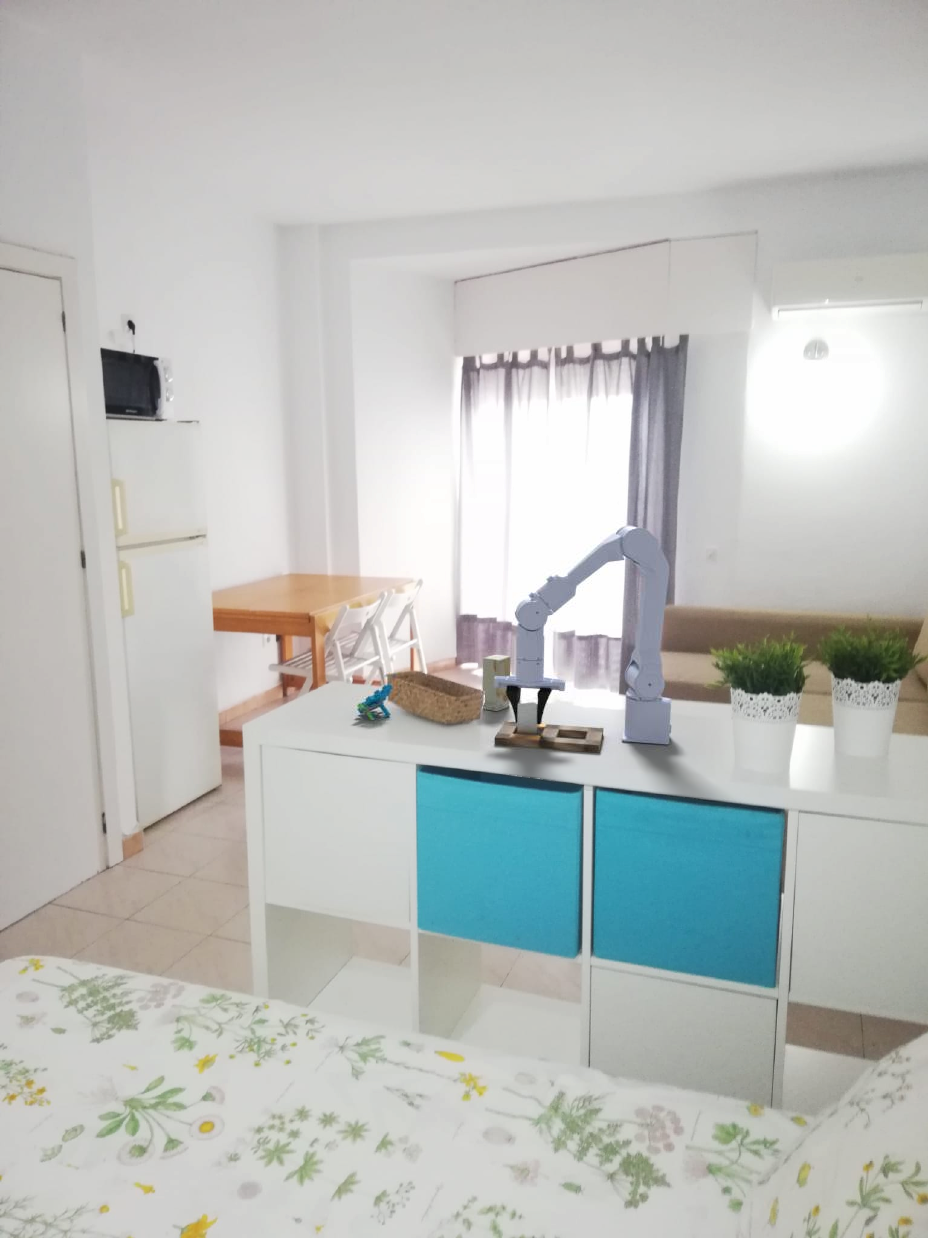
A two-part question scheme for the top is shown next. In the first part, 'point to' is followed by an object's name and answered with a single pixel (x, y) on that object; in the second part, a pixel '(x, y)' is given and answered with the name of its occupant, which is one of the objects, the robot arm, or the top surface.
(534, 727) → the steel block
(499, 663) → the skincare box
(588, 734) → the socket plate
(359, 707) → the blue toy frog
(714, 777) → the top surface
